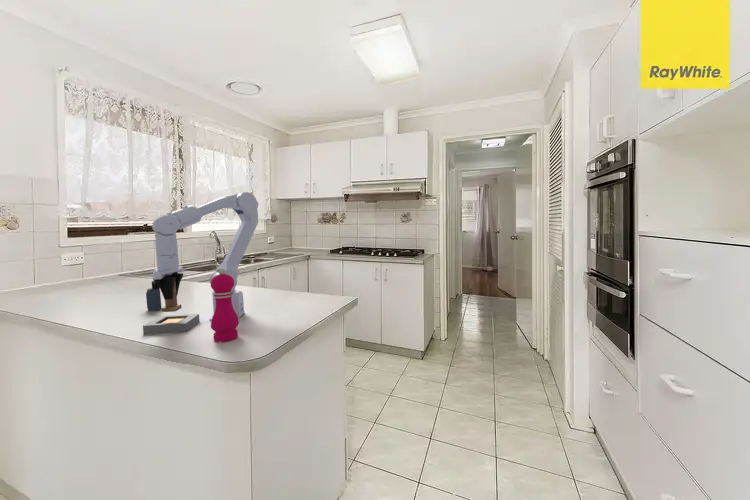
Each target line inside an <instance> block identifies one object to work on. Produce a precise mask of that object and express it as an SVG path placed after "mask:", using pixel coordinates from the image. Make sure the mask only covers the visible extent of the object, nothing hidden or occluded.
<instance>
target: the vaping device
mask: <svg viewBox="0 0 750 500" xmlns="http://www.w3.org/2000/svg"><path fill="white" fill-rule="evenodd" d="M152 279H153V278H152ZM145 297H146V308H147V311H151V312H157V311H162V310H161V308H162V299H161V298H162V297H161V289H160V287H159V286H158V284H157V283H156V282H155V281H154V279H153V280H152V281H151V288H150V287H149V288H146V292H145Z"/></svg>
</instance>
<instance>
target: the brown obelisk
mask: <svg viewBox="0 0 750 500" xmlns="http://www.w3.org/2000/svg"><path fill="white" fill-rule="evenodd" d="M164 305H165V306H163V307H161V310H160V311H161V313H169V312H171V313H172V312H174V313H175V312H177V311H178V310H181V309H182V304H178V295H177V294H176V280H175V283H174V289H173V299H166V300H165V299H164Z"/></svg>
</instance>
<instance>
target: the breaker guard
mask: <svg viewBox="0 0 750 500" xmlns="http://www.w3.org/2000/svg"><path fill="white" fill-rule="evenodd" d="M178 318H185V319H183V320H182V321H180V322H177V323H162V322H164V321H166V320H167V319H178ZM200 321H201V320H200V313H191V314H172V315H160V316H158V317H156V318H154V319H153V320H150V321H148V322H146V324H144V325H142V331H143V335H147V334H163V333H164V334H165V333H181V332H183V333H184V332H188V331H189V330H190V329H191V328H193V327H195V325H197V324H198V323H199V322H200Z"/></svg>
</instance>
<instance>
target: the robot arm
mask: <svg viewBox="0 0 750 500" xmlns="http://www.w3.org/2000/svg"><path fill="white" fill-rule="evenodd" d="M258 207H259V202H258V200H257V198H256V197H255V195H254V194H253V193H252V192H249V191H245V192H241V193H233V194H231V195H225V196H222V197H219V198H217V199H214V200H212V201H210V202H207V203H205V204H203V205H200V206H198V207H196V206H194V205H187V204H185V205H183V206H181V208H180V209H178V210H174V211H172V212H171V211H168V212H166V214H165V215H162V216H158V217H156V218H155V219H154V220H153V221H152V224H151V228H152V230H153V231H154V237H155V241H154V243H155V246H154V247H155V255H156V266H157V268H156V269H153V272H152V279H154V280H153V281H155V282H156V283H157V284H158V286H159V287H160V293H162V296H163V299H164V301H165V300H166V299H173V289H174V283H175V280H176V294H177V296H178V294H179V289H180V283H181V282H182V279H183V277H184V273H183V272H184V268H183V267H184V266H183V265H180V262H179V261H180V260H179V249H178V246H179V245H178V239H177V231H178V230H184V229H185V228H187V227H190V226H192V225H196V224H198V223H200V222H201V221H202V217H203V216H206V215H210V214H213V213H215V212H217V211H220V210H223V209H230V210H231V209H232V210H233V211H234V212H235V213H236V214H237V215H238V217H239V219H240V221H241V222H240V225H239V227H238V229H237V231H236V233H235V236H234V237H233V240H232V242H231V243H230V246H229V249H228V251H227V253H226V255H225V256H224V259H223V262H222V263H220V264H219V265H218V267H217V269H216V271H214V272H213V273H212V274H211V275H210V276H209V277H210V278H209V284H210V285H211V280H212V278H213V277H215V276H216V275H219V273H218V271H219V270H220V269H224V270H225V274H228V275H230V276H232V277H233V279H234V286H233V288H232V289H231V290H232V291H233V292H232V293H233V296H232V298H231V301H232V306H233V308H234V310H235V312H236V314H237V316H238V319H239V318H241V316H243V314H244V313H245V306H244V304H245V303H244V294H243V293H244V292H243V291H241V290H236V288H237V285H238V276H239V274H240V273H239V266H240V264H241V262H242V259H243V258H244V255H245V253H246V251H247V249H248V246H249V244H250V241H251V239H252V238H253V236H254V233H255V231H256V228H257V227H258V224H259V212H258V211H259V210H258ZM179 272H180V273H179ZM211 292H212V293H211V295H212V307H213V313H214V312H215V308H216V300H215V298H214V297H213V296H214V294H213V293H214V292H215V291H214V290H213V289H212V291H211ZM212 317H213V315H212V316H210V317H209V320H210V321H211V320H212Z"/></svg>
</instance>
